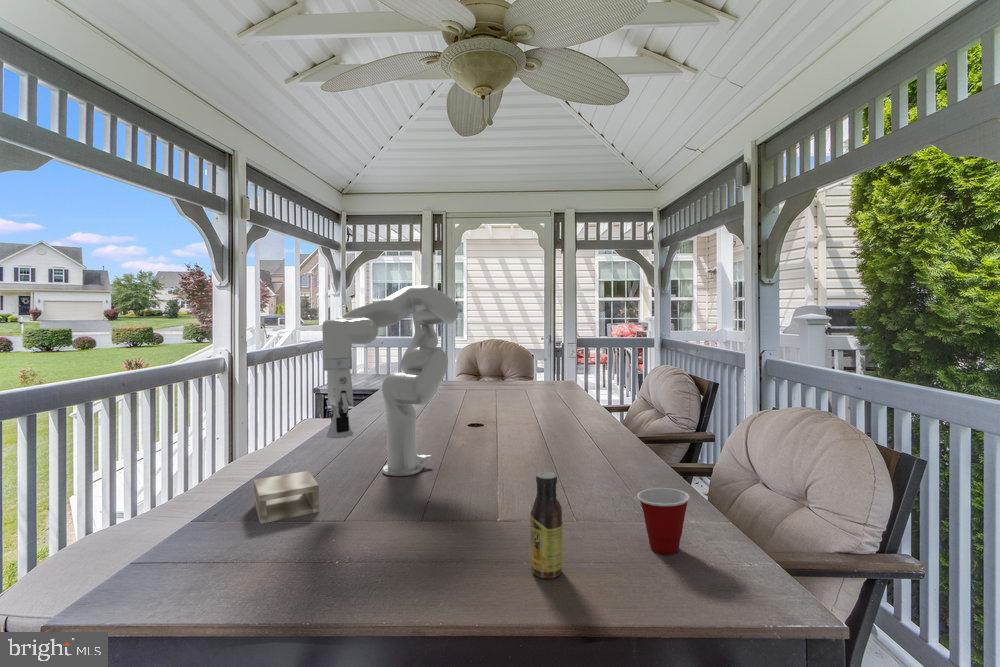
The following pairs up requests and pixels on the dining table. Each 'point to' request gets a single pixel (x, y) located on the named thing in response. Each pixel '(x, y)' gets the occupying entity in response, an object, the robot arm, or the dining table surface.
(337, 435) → the flask
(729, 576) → the dining table surface
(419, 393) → the robot arm
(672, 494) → the plastic cup
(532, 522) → the sauce bottle
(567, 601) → the dining table surface
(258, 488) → the grooved beige box
